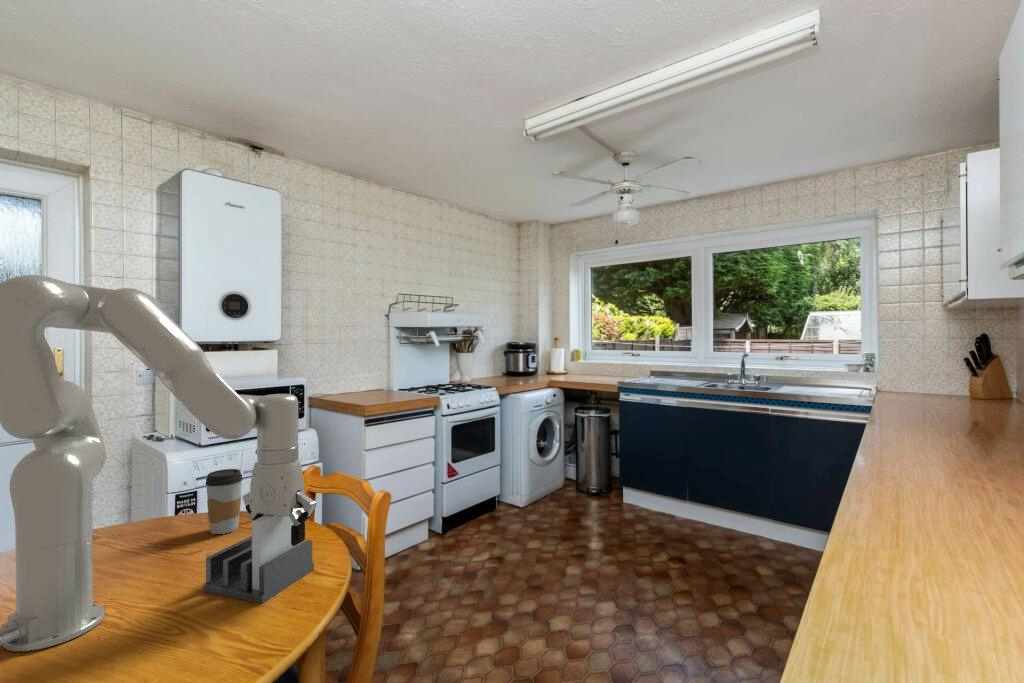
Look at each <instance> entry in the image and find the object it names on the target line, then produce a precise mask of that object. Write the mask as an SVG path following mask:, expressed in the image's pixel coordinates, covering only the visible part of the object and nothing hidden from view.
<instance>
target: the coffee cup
mask: <svg viewBox="0 0 1024 683" xmlns="http://www.w3.org/2000/svg"><path fill="white" fill-rule="evenodd" d="M243 480H244V479H243V474H242V473H241V470H240V469H237V468H227V469H220V470H215V471H211V472H208V474H207V478H206V479H205V485H206V486H205V487H206V495H207V496H206V499H207V501H206V502H207V514H208V522H209V532H210V533H211V534H212V533H213V534H212V535H214V534H223V535H226V534H225V533H228V534H230V533H229V532H231V533H234V532H235V530H236V529H237V530H238V527H240V526H239V525H240V524H239V523H240V514H241V504H242V502H241V501H242V483H243ZM237 530H236V531H237ZM233 531H234V532H233Z"/></svg>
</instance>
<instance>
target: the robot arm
mask: <svg viewBox="0 0 1024 683" xmlns="http://www.w3.org/2000/svg"><path fill="white" fill-rule="evenodd" d="M46 328H54V329H69V330H78V331H88V332H99V333H107V334H111V335H112V336H113V337H115V339H117V340H118V341H119V342H120V344H122V345H123V346H124V347H125V348H126V349H128V350H129V351H130V352H131V353H132V355H134V356H135V357H136V358H137V359H138V360H140V362H142V364H144V365H145V366H146V367H147V368H148V369H149V370H150V371H151V372H152V373H153V374H154V375H155V376H156V377H157V378H158V380H160V382H161V383H162V384H163V385H164V387H166V388H167V390H169V392H170V393H171V394H172V395H173V396H174V397H175V398H176V400H178V401H179V402H180V403H181V405H182V406H184V408H185V409H186V410H188V412H189V413H190V414H192V416H193V417H195V418H196V419H197V420H198V421H199V422H200V423H201V424H202V425H203V426H204V427H206V429H208V430H209V431H210V432H211V433H213V434H214V435H216V436H217V437H219V438H222V439H224V440H238V439H241V438H243V437H244V436H246V435H248V434H249V433H250V432H251V430H253V429H256V433H257V434H256V438H257V439H256V442H257V443H256V449H255V455H257V457H256V458H257V460H256V462H255V463H254V465H253V468H252V472H251V477H250V486H249V492H247V493H245V494H244V495H242V496H241V499H242V500H243V503H244V505H245V510H246V513H248V514H249V515H248V518H249V520H251V522H252V521H254V520H256V519H258V518H260V517H263V516H265V515H272V516H280V517H285V516H289V517H290V519H291V521H292V522H293V524H294V525H292V526H291V545H292V546H295V545H297V544H299V543H303V542H305V541H306V522H307V521H308V520H309V518H310V517H311V516H312V515H313V512H314V510H315V508H316V501H315V500H313V499H312V498H310V497H309V495H306V494H305V481H304V473H303V468H302V463H301V461H300V460H299V400H298V397H297V396H296V395H294V394H290V393H274V394H272V393H271V394H266V395H252V394H239V393H237V392H236V391H235V390H234V388H232V387H231V386H230V385H229V384H228V383H227V382H226V381H225V380H224V379H223V378H222V377H221V375H220V374H218V372H217V371H216V370H215V368H214V367H213V366H212V365H211V363H210V362H209V360H208V357H207V356H206V354H205V352H204V350H203V349H202V348H201V346H200V345H199V344H198V343H197V342H196V341H195V340H194V339H193V338H192V337H191V336H190V335H189V334H188V333H186V332H185V331H184V330H183V329H182V328H181V327H180V326H179V325H178V324H177V323H176V322H175V321H174V320H173V319H172V318H171V317H170V315H169V314H167V312H165V311H164V309H163V306H162V304H161V303H160V302H159V300H158V299H156V298H155V297H154V296H153V295H151V294H149V293H147V292H145V291H141V290H140V289H136V288H131V287H121V288H117V289H113V288H112V289H111V288H104V287H96V286H89V285H83V284H77V283H70V282H66V281H63V280H60V279H57V278H53V277H49V276H44V275H40V274H39V275H38V274H35V275H34V274H33V275H32V274H28V275H27V274H26V275H19V276H15V277H12V278H8V279H6V280H4V281H1V282H0V426H1V427H2V429H3V430H4V432H6V433H7V434H8V435H9V436H11V437H14V438H16V439H21V440H27V441H29V440H31V441H32V442H33V444H34V447H35V449H34V450H32V451H30V452H29V453H27V454H26V455H25V456H24V457H22V458H21V459H20V460H19V461H18V463H17V464H16V466H14V468H13V470H12V472H11V475H10V479H9V495H10V499H11V505H12V509H13V515H14V529H15V530H14V533H15V535H14V536H15V612H13V613H11V614H8V615H7V621H6V622H4V623H2V624H1V626H0V647H3V648H4V649H5V648H6V649H5V650H7V651H11V652H18V651H19V652H21V651H22V652H31V650H32V651H36V650H42V649H47V648H50V647H53V646H57V645H60V644H62V643H65V642H68V641H71V640H72V639H75V638H77V637H80V636H81V635H83V634H86V633H87V632H89V631H90V630H92V629H93V628H94V627H96V626H97V625H98V624H100V623H101V621H102V620H103V619H104V617H105V608H104V606H103V605H101V604H99V603H94V599H93V596H94V595H93V592H94V591H93V585H94V582H93V580H94V579H93V578H94V577H93V514H92V513H93V512H92V511H93V510H92V505H91V504H92V503H91V498H90V490H89V486H90V482H91V481H92V480H94V479H96V477H97V476H99V474H100V472H102V470H103V468H104V466H105V464H106V462H107V450H106V445H105V443H104V440H103V436H102V433H101V430H100V426H99V423H98V420H97V417H96V414H95V410H94V407H93V405H92V401H91V400H90V397H89V396H88V394H87V393H86V392H85V390H84V389H83V388H82V387H81V386H79V385H78V384H76V383H74V382H72V381H69V380H65V379H62V377H61V375H60V373H59V370H58V367H57V362H56V358H55V355H54V353H53V351H52V348H51V347H50V345H49V343H48V342H47V339H46V336H45V331H46ZM296 512H297V513H298V515H299V517H297V515H296V514H295V513H296Z"/></svg>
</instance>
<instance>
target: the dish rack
mask: <svg viewBox="0 0 1024 683" xmlns="http://www.w3.org/2000/svg"><path fill="white" fill-rule="evenodd" d="M311 571H312V572H313V571H315V562H313V540H312V539H311V540H310V539H307V540H306V539H305V540H304V541H303V542H301V544H299V545H297V546H296V547H294V548H292V549H290V550H289V551H287V552H285V553H283V554H281V555H280V556H278V557H276V558H274V559H272V560H271V561H269V562H267V563H265V564H263V565H262V566H260V567H259V590H256V589H252V535H251V536H249V537H246V538H244V539H242V540H240V541H238V542H236V543H234V544H231V545H229V546H227V547H225V548H223V549H222V550H221V549H220V550H219V551H217V552H215V553H213V554H210V555H208V556H206V557H205V583H203V592H204V593H207V592H209V594H212V593H213V594H214V595H217V594H218V596H223V597H228V598H232V599H237V600H242V601H247V602H252V603H258V604H264V603H265V602H268V600H270V599H272V598H273V597H275V596H277V595H278V594H279V593H281V592H283V591H284V590H286V589H287V588H289V587H291V584H292V585H293V584H295V583H296V582H297V580H298V581H299V580H301V579H302V578H304V577H306V576H307V575H309V574H310V573H311ZM300 578H301V579H300ZM294 582H295V583H294ZM288 586H289V587H288ZM213 594H212V595H213Z"/></svg>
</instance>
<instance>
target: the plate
mask: <svg viewBox="0 0 1024 683" xmlns="http://www.w3.org/2000/svg"><path fill="white" fill-rule="evenodd" d="M295 514H296V515H297V517H299V515H298V513H297V512H296V513H295ZM292 525H294V524H293V522H292V521H291V519H290V517H289V516H285V517H280V516H272V515H265V516H263V517H260V518H258V519H256V520H254V521H252V520H251V536H252V589H256V590H259V567H260V566H262V565H263V564H265V563H267V562H269V561H271V560H272V559H274V558H276V557H278V556H280V555H281V554H283V553H285V552H287V551H289V550H290V549H292V548H294V547H296V546H297V545H299V544H301V543H302V542H301V543H299V544H297V545H295V546H292V545H291V526H292Z"/></svg>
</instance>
